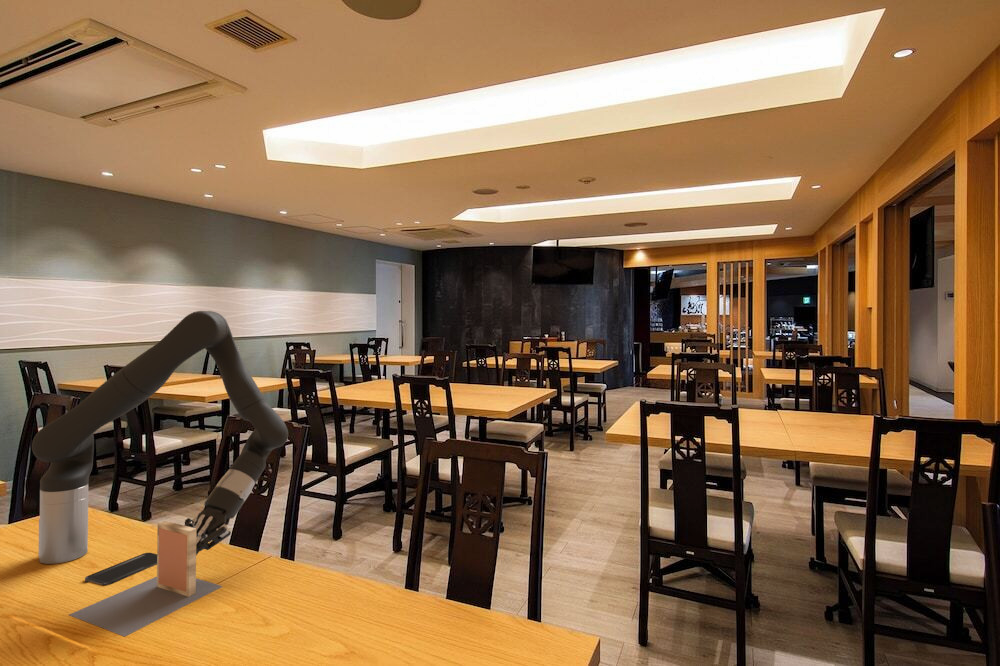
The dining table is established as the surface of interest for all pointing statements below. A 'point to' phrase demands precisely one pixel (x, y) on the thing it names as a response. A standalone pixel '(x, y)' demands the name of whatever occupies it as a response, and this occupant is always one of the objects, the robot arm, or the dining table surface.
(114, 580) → the phone
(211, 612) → the dining table surface
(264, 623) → the dining table surface
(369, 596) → the dining table surface
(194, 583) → the placard
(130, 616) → the mat
